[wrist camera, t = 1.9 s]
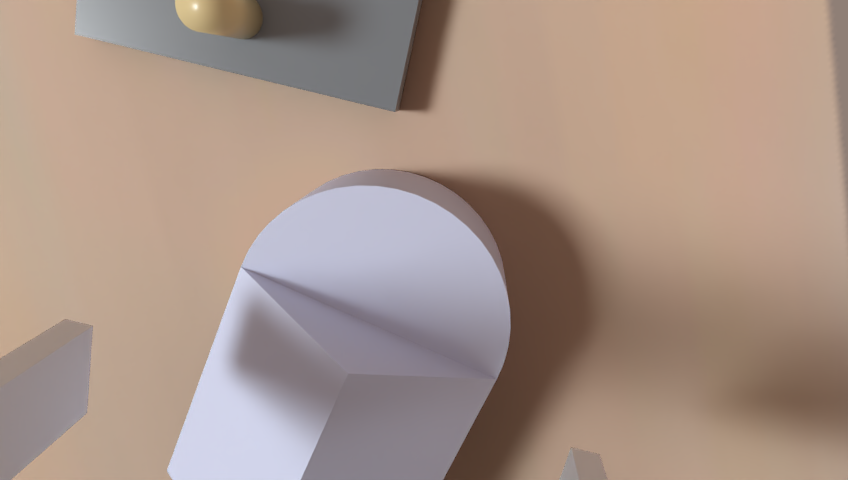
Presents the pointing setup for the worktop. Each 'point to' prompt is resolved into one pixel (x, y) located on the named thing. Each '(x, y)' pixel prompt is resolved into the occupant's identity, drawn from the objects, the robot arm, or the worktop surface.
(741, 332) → the worktop surface
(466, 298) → the wedge on round base
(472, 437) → the worktop surface
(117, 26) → the pin plate
